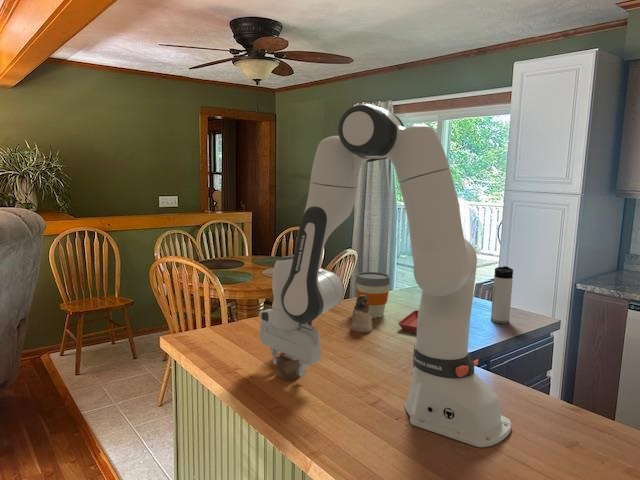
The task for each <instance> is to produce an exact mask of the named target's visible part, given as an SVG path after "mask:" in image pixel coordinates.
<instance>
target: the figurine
mask: <svg viewBox="0 0 640 480" xmlns="http://www.w3.org/2000/svg"><path fill="white" fill-rule="evenodd" d="M367 300H368V297H367V296H366V295H361V296H359V297H358V298H357V297H356V302H355V306H354V307H353V309H354V310H353V311H352V319H351V324H350V325H351V326H350V328H351V329H350V330H352V331H353V332H356V333H362V334H363V333H364V334H365V333H370V332H372V331H373V318H372V315H371V311H370V309H369V303H368V301H367Z"/></svg>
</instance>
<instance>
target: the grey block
mask: <svg viewBox="0 0 640 480" xmlns="http://www.w3.org/2000/svg"><path fill="white" fill-rule="evenodd" d="M300 365H301V364H299V360H298V359H295V358H293V357H291V356H289V355H286V354H283V355H280V356H279V357H276V365H275V366H276V368H275V369H276V370H275V372H276V375H275V376H277V377H278V378H279V379H280V378H281V379H282V380H284V381H286V382H290V381H293V380H294V379H297V378H300V376H298V375H296V369H297V368H299V367H300Z"/></svg>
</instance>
